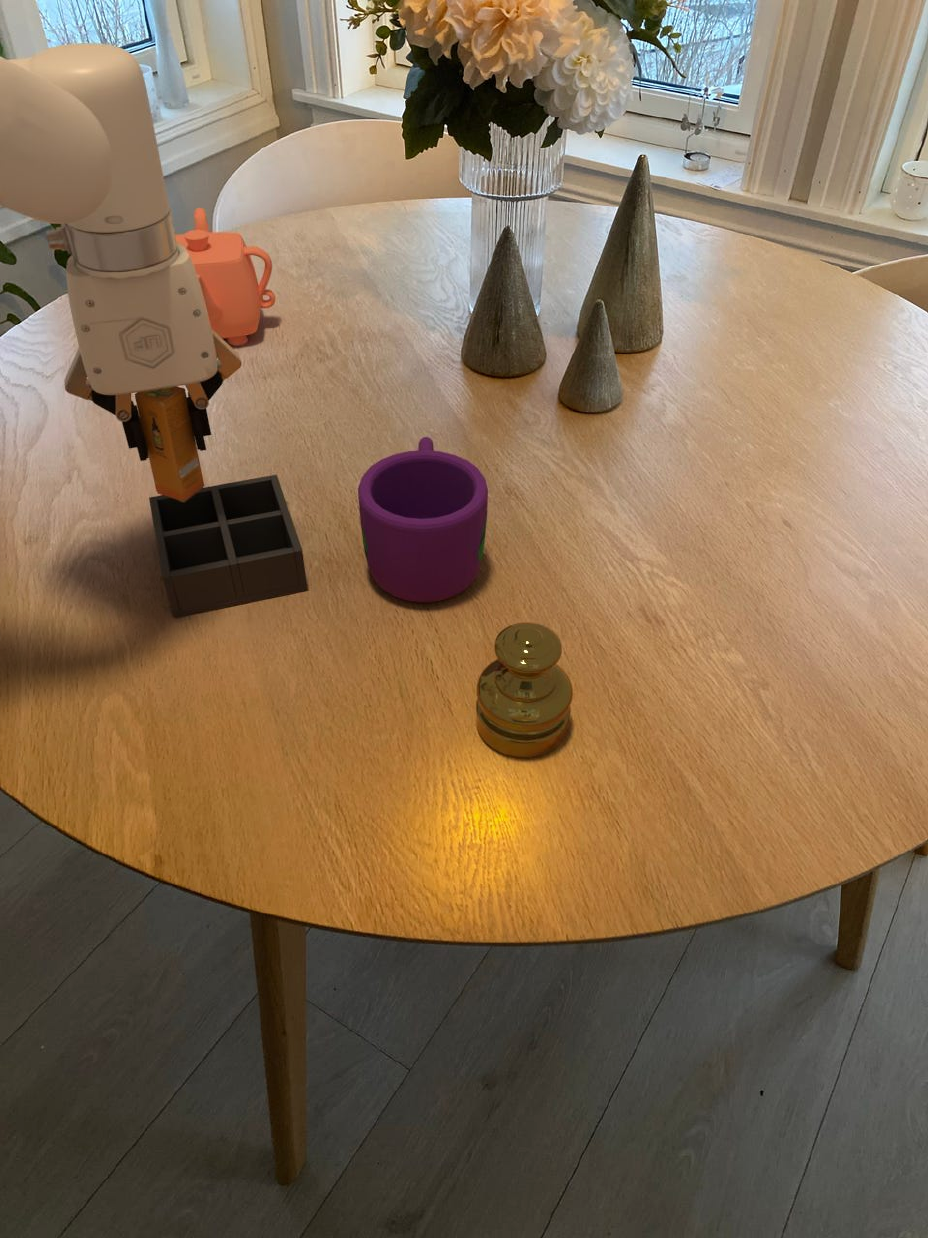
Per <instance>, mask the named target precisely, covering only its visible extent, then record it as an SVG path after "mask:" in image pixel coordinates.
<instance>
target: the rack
mask: <svg viewBox="0 0 928 1238" xmlns="http://www.w3.org/2000/svg"><path fill="white" fill-rule="evenodd" d="M148 500H149V506H150V512H151V519H152V525H153V530H154V535H155V536H154V537H155V543H156V548H157V553H158V560H159V566H160V571H161V572H160V573H161V577H162V578H161V579H162V581H163V586H164V588H165V592H166V596H167V600H168V603H169V607H170V611H171V614H172V618H173V619H177V618H182V617H187V616H190V615H195V614H200V613H206V612H209V611H210V612H211V611H215V610H220V609H225V608H229V607H233V606H238V605H243V604H247V603H248V604H249V603H254V602H259V601H263V600H268V599H272V598H277V597H282V596H286V595H291V594H296V593H301V592H305V591H308V582H307V575H306V567H305V561H304V554H303V547H302V545H301V542H300V539H299V537H298V533H297V530H296V527H295V525H294V522H293V519H292V516H291V513H290V510H289V507H288V504H287V501H286V498H285V495H284V492H283V489H282V485H281V483H280V479H279V478H278V475H277V474H271V475H267V476H261V477H256V478H255V477H254V478H249V479H244V480H239V481H238V480H237V481H232V482H226V483H221V484H216V485H211V486H206V487H205V486H204V487H203V488H202V489H201V490H199V491H198V492H197V493H196V494H194V495H193V496H192V497H191V498H189V499H188V500H187V501H185V502H181V501H179V500H176V499H174V498H171V497H168V496H164V495H161V494H159V495H156V496H150V497H148Z"/></svg>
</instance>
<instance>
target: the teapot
mask: <svg viewBox="0 0 928 1238" xmlns="http://www.w3.org/2000/svg"><path fill="white" fill-rule="evenodd" d="M193 216H194V217H193V219H194V229H192V230H189V231H187V232H185V233H180V234H175V237H176V242H178V243H180V244H182V245H183V246H184V247H185V248H186V250H187V252H188V253H189V256H190V258H191V260H192V263H193V265H194V268H195V271H196V274H197V276H198V279H199V282H200V286H201V289H202V293H203V296H204V300H205V305H206V309H207V313H208V317H209V321H210V325H211V328H212V329H213V330H214V331H215V332H216V333H217V334H218V335H219V336H220V337H221V338H222V339H226V342H227V344H228V345H230V346H234V347H235V346H236V347H237V346H243V345H245V344H247V343H248V341H249V339H248V337H247V336H248V335H249V336H250V335H252V334H254V333H256V332H257V331H258V327H259V323H260V319H261V311H262V309H270V308H272V307H273V306H274V305H275V303H276V295H275V293H274V291H273V290H271V289H267V286H268V284H269V281H270V279H271V277H272V272H273V261H272V259H271V257H270V255H269V253H267V251H265V250H264V249H262V248H261V247H259V246H255V245H247V244H246V242H245V240H244V237H243V236H242V234H240V233H238V232H229V231H228V232H227V231H225V232H224V231H223V232H222V231H221V232H211V231H210V228H209V224H208V220H207V212H206V210H205V209H204V208H203V207H197V208H196V209H195V210H194V215H193ZM252 256H254V257H255V256H256V257H257V258H260V259H261V260H262V261H263V262H264V270H263V273H262V276H261V279H260V281H258V276H257V274H256V269H255V266H254V262H253V259H252ZM264 296H268V297H269V298H268V299H264Z"/></svg>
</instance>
